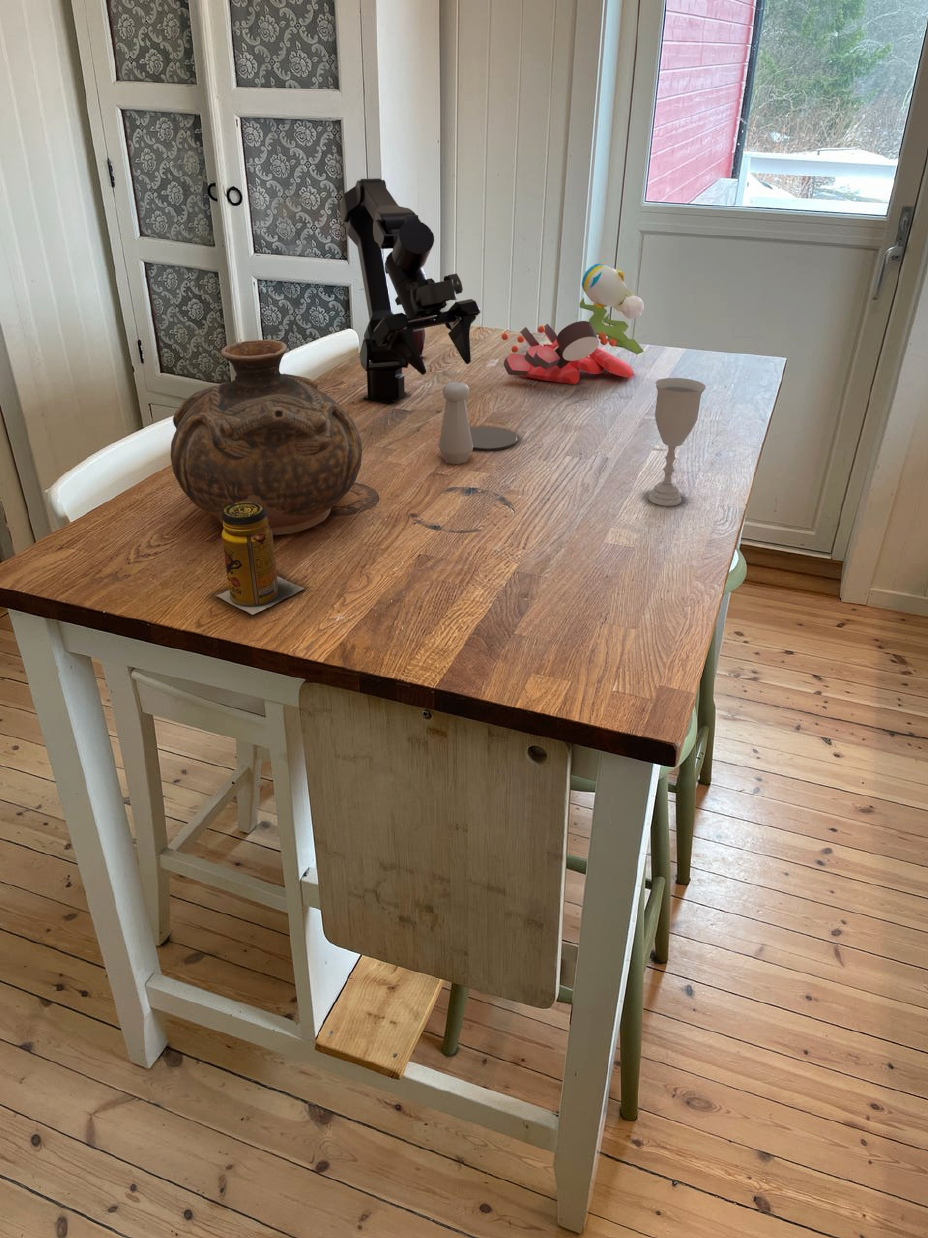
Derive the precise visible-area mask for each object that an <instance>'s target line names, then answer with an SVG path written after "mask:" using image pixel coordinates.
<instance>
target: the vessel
mask: <svg viewBox="0 0 928 1238" xmlns="http://www.w3.org/2000/svg"><path fill="white" fill-rule="evenodd" d="M287 349H288V345H287V344H286V343H285V342H283V341H280V340H274V339H255V340H254V339H253V340H245V341H238V342H234V343H231V344H228V345H226V346H224V347H223V348H222V349H221V351H220V354H221V356H222V357H223V358H225V359H226V360H227V361H228V362H229V363H230V364H231V365H232V367H233V370H234V372H235V376H234V380H231V381H229V382H222V383H219V384H217V385H212V386H209V387H207V388H204V389H201V390H199V391H197V392H196V391H195V392H194V393H193V394H192V395H190V396H189V397H188V398H186V400H184V401H183V402H182V403H181V404H180V406H179V407H178V408H177V410H176V411H175V412H174V413H173V417H172V423H173V426H174V428H175V431H174V434H173V437H172V439H171V443H170V461H171V467H172V473H173V475H174V476H175V479H176V481H177V483H178V485H179V487H180V489H181V490H182V492H183V493H184V494H185V495H186V497H187V498H188V499H189V500H190V501H191V502H192V503H193V504H194V505H195V506H196V507H198V508H199V509H201V510H202V511H204V512H206V513H207V514H210V515H211V516H214V517H216V518H217V520H218V521H219V522H220V523H221V524H222V525H223V518H222V511H223V510H224V509H225V508H226V507H227V506H229V505H231V504H234V503H238V502H256V503H259V504H261V505H263V506H264V507H265V509H266V510H267V514H266V515H267V519H268V525H269V526H270V527H271V529H272V535H273V536H283V535H292V534H297V533H300V532H303V531H305V530H308V529H311V528H314V527H316V526H317V525H319V524H321V523H322V522H324V521H325V520H327V518H328V517H329V515H330V513H331V511H332V508H333V507H334V506H335V505H336V504H338V503H339V502H340V501H341V500H342V499H343V498H344V497H345V496H346V495H347V494H348V492H350V490H351V489H352V487H353V485H354V484H355V481H356V479H357V477H358V474H359V472H360V469H361V465H362V457H363V447H362V446H363V445H362V439H361V436H360V433H359V430H358V428H357V425H356V423H355V421H354V420H353V419H352V418H351V416H350V415H349V414H348V412H347V411H346V410H345V409H344V408H343V407H342V406H341V405H340V404H339V403H338V402H337V401H336V400H335V399H333V398H332V397H331V396H329V395H327V394H326V393H325V392H323V391H321V390H319V389H318V384H317V383H316V382H315V381H314V380H312V379H310V378H307V377H304V376H300V375H294V374H289V373H281V372H280V366H281V363H282V359H283V357H284V356H285V353H286V352H287Z"/></svg>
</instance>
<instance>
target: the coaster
mask: <svg viewBox="0 0 928 1238" xmlns="http://www.w3.org/2000/svg"><path fill="white" fill-rule="evenodd" d="M470 432H471V437H472V442H473V450H474V451H481V452H482V451H483V452H493V451H501V450H502V451H503V450H506V449H509V448H511V447H513V446H515V445H516V444H517V442H518V436H517V435H516V433H515V432H513V431H511V430H509V429H507V428H502V427H498V426H489V425H488V426H487V425H486V426H473V427H471V426H470ZM473 450H472V451H473Z"/></svg>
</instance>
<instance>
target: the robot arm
mask: <svg viewBox="0 0 928 1238" xmlns="http://www.w3.org/2000/svg"><path fill="white" fill-rule="evenodd" d="M339 205H340V207H339V212H340V213H339V214H340V219H341V222H342V223H343V224H344V226H345V232H346V235H347V236H348V237H349V239H350V240H351V241H352V242H353V244H354V245H355V246H356V247H357V252H358V258H359V264H360V271H361V276H362V282H363V288H364V289H363V290H364V293H365V300H366V306H367V311H368V319H369V321H368V323H367V326H366V328H365V331H364V334H363V339H362V343H361V346H360V351H359V362H360V366H361V367H362V369H364V371H365V372H366V384H367V385H366V388H367V389H366V390H367V393H366V395H363V400H364V401H365V400H366V401H372V402H377V403H385V404H395V403H396V402H399V400H401V399H403V398H405V396H407V392H406V391H405V389H406V388H405V375H404V373H403V369H408V368H409V365H410V366H411V367H413V369H415V370H416V371H417V372H418V373H419V374H420V375H421V376H424V375H425V374H427V369H426V365H425V362H424V360H423V359H422V358H421V356H420V353H419V351H418V349H417V346H416V344H415V342H414V335H413V330H417V329H422V328H424V329H426V328H432V327H436V326H441V325H445V328H446V329H448V330H450V331H449V332H448V333H447V334H448V336H449V338H450V341H451V342H452V344H453V345H454V347H455V349H456V350H457V352H458V355H459V356H460V358H461V359H462V360H463V362H464V363H465V364H466V365H469V364H471V361H472V358H471V357H472V355H471V341H470V332H471V331H470V330H471V325H472V324H473V323H474V322H475V321H476V319H477V317H478V316H479V315H480V314H481V313H482V311H481V309H480V306H479V304H478V302H477V301H476V300H474V299H472V298H469V299H464V300H459V301H456V300H458V298H457V295H460V294H462V293H463V291H464V288H463V284H462V280H461V278H460V277H459V275H458V273H451V274H448V275H443V276H444V277H443V280H442V281H437V282H435V280H434V279H433V278H428V277H427V275H426V273H425V270H424V266H425V265H426V262H427V260H428V257H429V256H430V253H431V251H432V249H433V247H434V242H435V235H434V232H433V231H432V229H431V228H430V226H428V225H427V224H426V223H424V222H422V221H421V219H420V218H419V215H418V214H416V213H415V212H414V210H412V209H411V208H408V207H404V206H399V204H398V203H397V201H396V200H395V199H394V197H393V196H392V194H391V193H390V191H389V190H388V188H387V182H386V181H385V179H381V178H380V177H378V178H360V180H359V179H358V180H356V183H355V186H353V187H352V188H350V189H349V190H347V191H346V192H344V193H343V195H342V198H341V202H340V204H339ZM391 249H392V251H390V252H389V253H388V254H387V256H386V258H385V260H384V255H383V254H384V253H383V250H391ZM387 275H388V277H389V279H390V281H391V283H392V286H393V288H394V291H395V293H396V294H397V296H396V298H395V299H394V301H395V304H396V306H401V307H402V309H403V312H404V313H403V312H399V313H393V307H392V301H391V296H390V291H389V285H388V284H389V283H388V279H387ZM449 301H455V302H454V303H453V304H452V305H451V306H450V308H449V309H448V310H445V311H442V309H445V308H446V306H448V303H447V302H449Z"/></svg>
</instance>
